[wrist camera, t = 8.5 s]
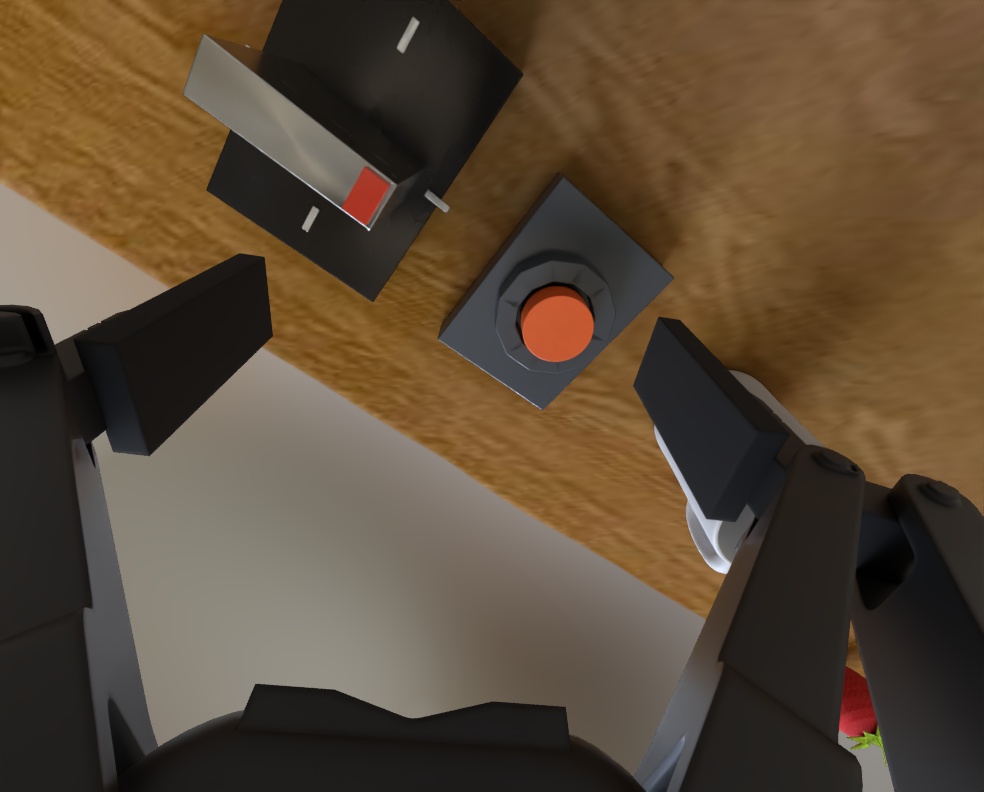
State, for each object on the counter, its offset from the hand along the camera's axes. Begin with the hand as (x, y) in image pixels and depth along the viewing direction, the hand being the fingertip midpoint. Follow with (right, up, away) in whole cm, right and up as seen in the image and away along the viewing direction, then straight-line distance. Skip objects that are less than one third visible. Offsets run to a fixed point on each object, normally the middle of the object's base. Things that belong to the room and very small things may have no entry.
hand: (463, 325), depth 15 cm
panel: (-6, +12, +9) cm, 16 cm away
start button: (+5, +2, +11) cm, 12 cm away
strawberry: (+41, -33, +37) cm, 65 cm away
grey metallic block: (-6, +10, +7) cm, 14 cm away
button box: (+5, +4, +14) cm, 16 cm away
